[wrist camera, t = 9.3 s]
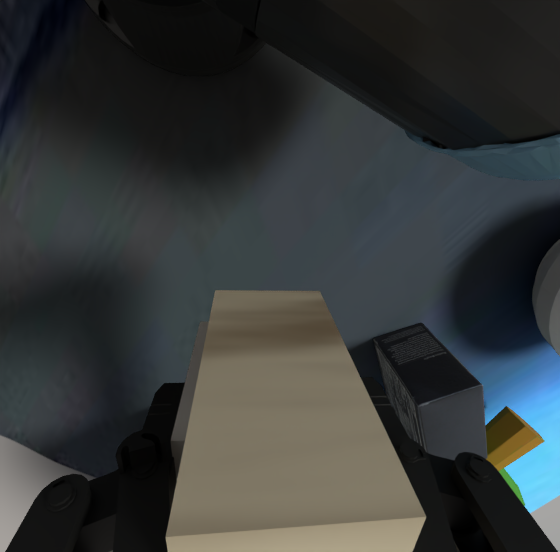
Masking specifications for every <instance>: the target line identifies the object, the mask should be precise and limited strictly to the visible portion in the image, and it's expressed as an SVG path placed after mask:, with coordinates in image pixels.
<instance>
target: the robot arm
mask: <svg viewBox="0 0 560 552" xmlns="http://www.w3.org/2000/svg"><path fill="white" fill-rule="evenodd" d="M85 2H86V3H87V5H88V6H89V7H90V9H91V10H92V11H93V13H94V14H95V15H96V17H97V18H98V19H99V20H100V21H101V23H102V24H103V25H104V26H105V27H106V28H107V29H108V30H109V31H110V32H111V33H112V34H113V35H114V36H115V37H116V38H117V39H118V40H119V41H121V42H122V43H123V44H124V45H126V46H127V47H128V48H130V49H131V50H132V51H134V52H135V53H136V54H138V55H139V56H140V57H142V58H143V59H145V60H147V61H148V62H150V63H152V64H154V65H156V66H158V67H160V68H162V69H165V70H168V71H171V72H174V73H178V74H182V75H189V76H208V75H215V74H219V73H223V72H226V71H229V70H231V69H233V68H235V67H237V66H239V65H241V64H243V63H244V62H246V61H247V60H248V59H250V58H251V57H252V56H254V55H255V54H256V53H257V52H258V51H259V50H260V49H261V48H262V47H263V46H264V44H265V43H268V44H269V45H271V46H273V47H274V48H276V49H277V50H279V51H281V52H282V53H284V54H285V55H287V56H288V57H290V58H292V59H293V60H295V61H296V62H298V63H300V64H301V65H303V66H304V67H306V68H307V69H309V70H311V71H312V72H314V73H315V74H317V75H319V76H320V77H322V78H323V79H325V80H326V81H328V82H330V83H331V84H333V85H334V86H336V87H338V88H339V89H341V90H342V91H344V92H345V93H347V94H349V95H350V96H352V97H353V98H355V99H357V100H358V101H360V102H361V103H363V104H364V105H366V106H368V107H369V108H371V109H372V110H374V111H376V112H377V113H379V114H380V115H382V116H383V117H385V118H387V119H388V120H390V121H391V122H393V123H395V124H396V125H398V126H399V127H401V128H402V129H404V130H405V132H406V134H407V136H408V137H409V138H410V139H412V140H413V141H415V142H416V143H417V144H419V145H421V146H423V147H425V148H427V149H429V150H431V151H435V152H439V153H445V154H448V155H450V156H452V157H453V158H455V159H457V160H459V161H461V162H462V163H464V164H466V165H468V166H470V167H471V168H473V169H476V170H478V171H480V172H483V173H485V174H488V175H492V176H496V177H505V178H511V179H518V180H552V179H560V0H85ZM208 324H209V322H200V324H199V328H198V332H197V336H196V340H195V344H194V349H193V353H192V357H191V361H190V365H189V369H188V373H187V377H186V381H185V383H164V384H163V385H162V386H161V387H160V388H159V390H158V391H157V392H156V393H155V395H154V398H153V401H152V404H151V407H150V410H149V412H148V416H147V418H146V421H145V424H144V426H143V429H142V430H141V431H138V432H136V433H133V434H132V435H130V436H129V437H127V438H126V439H125V440H124V441H123V442H122V443H121V445H120V446H119V447H118V450H117V453H116V459H117V463H118V468H119V469H117V470H116V471H114V472H112V473H110V474H107V475H105V476H102V477H99V478H96V479H93V480H90V481H88V480H87V479H86V478H85V477H84V476H82V475H78V474H71V475H66V476H62V477H60V478H58V479H56V480H55V481H53V482H51V483H50V484H49V485H48V486H46V487H45V488H44V489H43V490H42V491H41V492H40V494H39V495H38V496H37V498H36V499H35V500H34V502H33V504H32V506H31V507H30V509H29V511H28V513H27V515H26V516H25V518H24V520H23V522H22V523H21V525H20V527H19V529H18V531H17V532H16V534H15V536H14V537H13V539H12V541H11V543H10V545H9V546H8V548H7V550H6V551H5V552H110V551H112V550H113V552H168V550H167V543H166V532H167V528H168V523H169V518H170V513H171V508H172V503H173V498H174V493H175V488H176V483H177V478H178V473H179V468H180V463H181V458H182V453H183V448H184V443H185V438H186V433H187V428H188V423H189V418H190V413H191V408H192V404H193V399H194V394H195V389H196V384H197V379H198V374H199V369H200V364H201V359H202V354H203V349H204V344H205V339H206V334H207V329H208ZM361 380H362V382H363V384H364V386H365V388H366V390H367V392H368V394H369V397H370V399H371V401H372V403H373V405H374V407H375V409H376V411H377V413H378V416H379V418H380V420H381V422H382V424H383V426H384V428H385V430H386V432H387V435H388V437H389V439H390V441H391V443H392V445H393V447H394V449H395V451H396V454H397V456H398V458H399V460H400V462H401V464H402V466H403V468H404V470H405V473H406V475H407V477H408V479H409V481H410V483H411V485H412V487H413V489H414V492H415V494H416V496H417V498H418V500H419V502H420V504H421V506H422V509H423V511H424V513H425V515H426V519H425V522H424V524H423V527H422V529H421V532H420V534H419V537H418V539H417V542H416V544H415V547H414V549H413V552H558V551H557V550H556V548H555V547H554V546H553V544H552V543H551V542H550V540H549V539H548V538H547V536H546V535H545V534H544V532H543V531H542V530H541V528H540V527H539V526H538V524H537V523H536V521H535V520H534V519H533V517H532V516H531V515H530V513H529V512H528V511H527V509H526V508H525V506H524V505H523V504H522V502H521V501H520V500H519V498H518V497H517V496H516V494H515V493H514V492H513V490H512V489H511V488H510V486H509V485H508V483H507V482H506V481H505V479H504V478H503V477H502V475H501V474H500V473H499V471H498V470H497V469H496V468H495V467H494V466H493V465H492V464H491V462H489V461H488V460H486V459H485V458H483V457H482V456H480V455H477V454H475V453H471V452H462V453H459V454H458V455H457V456H456V458H455V460H451V459H447V458H443V457H439V456H435V455H432V454H429V453H427V452H426V451H425V449H424V448H423V447H422V446H421V445H420V444H419V443H417V442H416V441H414V440H413V439H410V438H409V436H408V434H407V432H406V431H405V429H404V427H403V425H402V423H401V421H400V420H399V418H398V416H397V414H396V412H395V410H394V408H393V407H392V406H391V403H390V401H389V399H388V398H387V395H386V394H385V392H384V390H383V388H382V386H381V385H380V384H379V383H378V382H377V381H375V380H374V379H373V378H372V377H367V378H361Z"/></svg>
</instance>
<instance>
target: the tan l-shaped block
mask: <svg viewBox="0 0 560 552" xmlns="http://www.w3.org/2000/svg"><path fill="white" fill-rule="evenodd" d="M425 519H426V515H425V513H424V511H423V509H422V506H421V504H420V502H419V500H418V498H417V496H416V494H415V492H414V489H413V487H412V485H411V483H410V481H409V479H408V477H407V475H406V473H405V470H404V468H403V466H402V464H401V462H400V460H399V458H398V456H397V454H396V451H395V449H394V447H393V445H392V443H391V441H390V439H389V437H388V435H387V432H386V430H385V428H384V426H383V424H382V422H381V420H380V418H379V416H378V413H377V411H376V409H375V407H374V405H373V403H372V401H371V399H370V397H369V394H368V392H367V390H366V388H365V386H364V384H363V382H362V380H361V378H360V375H359V373H358V371H357V369H356V367H355V365H354V363H353V361H352V359H351V356H350V354H349V352H348V350H347V348H346V346H345V344H344V342H343V339H342V337H341V335H340V333H339V331H338V329H337V327H336V325H335V323H334V320H333V318H332V316H331V314H330V312H329V310H328V308H327V306H326V304H325V301H324V299H323V297H322V295H321V293H320V291H237V290H215V294H214V299H213V304H212V309H211V314H210V319H209V324H208V329H207V334H206V339H205V344H204V349H203V354H202V359H201V364H200V369H199V374H198V379H197V384H196V389H195V394H194V399H193V404H192V408H191V413H190V418H189V423H188V428H187V433H186V438H185V443H184V448H183V453H182V458H181V463H180V468H179V473H178V478H177V483H176V488H175V493H174V498H173V503H172V508H171V513H170V518H169V523H168V528H167V532H166V543H167V550H168V552H413V549H414V547H415V544H416V542H417V539H418V537H419V534H420V532H421V529H422V527H423V524H424V522H425Z"/></svg>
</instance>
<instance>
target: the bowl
mask: <svg viewBox="0 0 560 552" xmlns="http://www.w3.org/2000/svg"><path fill="white" fill-rule="evenodd" d="M532 303H533V308H534V313H535V317H536V321H537V325H538V328H539V330H540V332H541V334H542V336H543V337H544V338H545V339H546V341H547V342H548V343H549V344H550V345H551V346H552V347H553V349H554V350H555V351H556V353H557V354H558V355H559V356H560V239H559V240H558V241H557V242H556V243H555V244H554V245H553V246H552V247H551V248H550V249H549V251H548V252H547V253H546V255H545V256H544V258H543V259H542V261H541V263H540V265H539V267H538V270H537V274H536V277H535V283H534V286H533V293H532Z"/></svg>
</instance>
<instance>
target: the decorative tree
mask: <svg viewBox="0 0 560 552" xmlns="http://www.w3.org/2000/svg"><path fill="white" fill-rule="evenodd" d="M485 429H486V443H487V459H486V460H488V461H489V462H491V464H492V465H493V466H494V467H495V468H496V469H497V470H498V471H499V473H500V474H501V475H502V477H503V478H504V479H505V481H506V482H507V483H508V485H509V486H510V488H511V489H512V490H513V492H514V493H515V494H516V496H517V497H518V498H519V500H520V501H521V502H522V504H523V505H524V506H525V503H524V501H523V498H522V495H521V493H520V490H519V487H518V486H517V484H516V483H515V482H514V481H513V479H512V478H511V477H510V476H509V474H508V473H507V472H506V470H505V469H504V467H506V466H507V465H509V464H510V463H512V462H514V461H515V460H517V459H518V458H520V457H521V456H523V455H524V454H526V453H527V452H529V451H530V450H532V449H533V448H535V447H537V446H538V445H540V444H541V443H543V442H544V440H543V439H542V437H541V436H540V435H539V434H538V433H537V432H536V431H535V430H534V429H533V428H532V427H531V426H530V425H529V424H528V423H526V422H525V421H524V420H523V419H522V418H521V417H520V416H518V415H517V414H516V413H515V412H514V411H512V410H511V409H510V408H508V407H507V406H506V407H505V408H504V409H503V410H502V411H500V412H499V413H498V414H497V415H496V416H495V417H494V418H493V419H492V420H491V421H490V422H489V423H488V424H487V425H486V426H485Z"/></svg>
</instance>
